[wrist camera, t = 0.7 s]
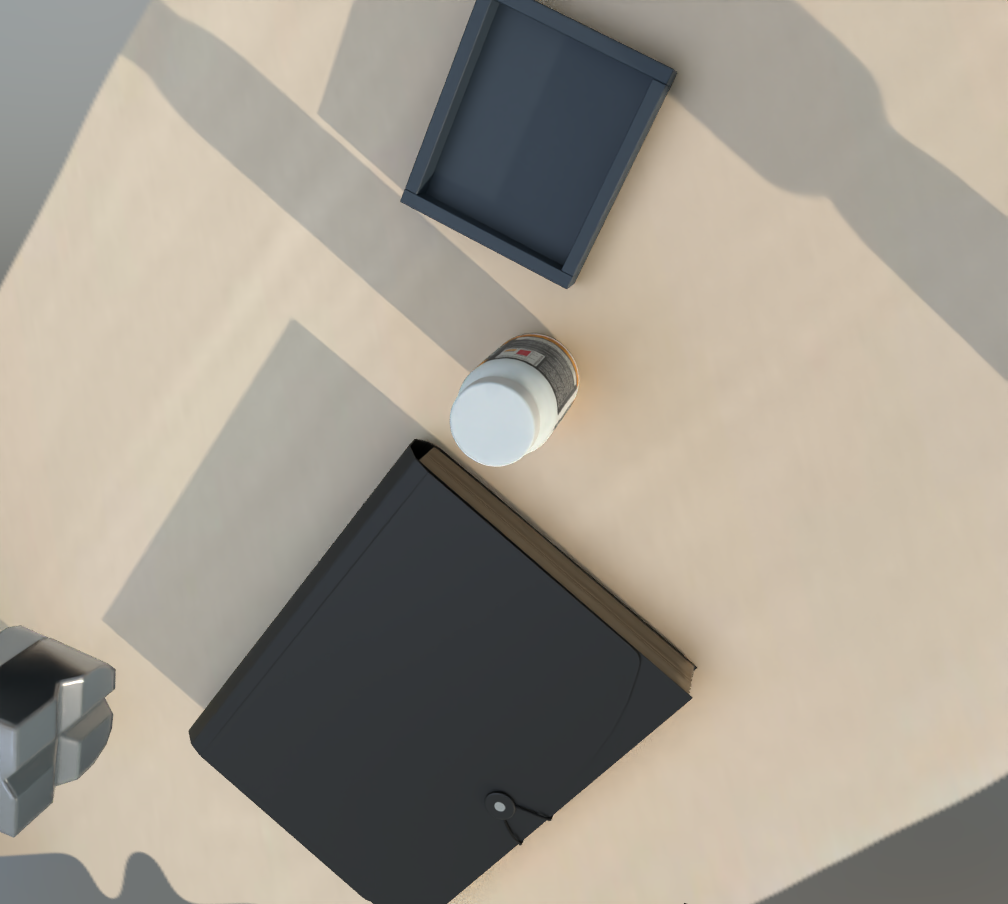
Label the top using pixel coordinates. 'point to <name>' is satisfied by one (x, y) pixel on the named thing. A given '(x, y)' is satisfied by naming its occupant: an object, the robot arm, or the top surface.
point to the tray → (535, 135)
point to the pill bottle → (514, 399)
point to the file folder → (436, 689)
